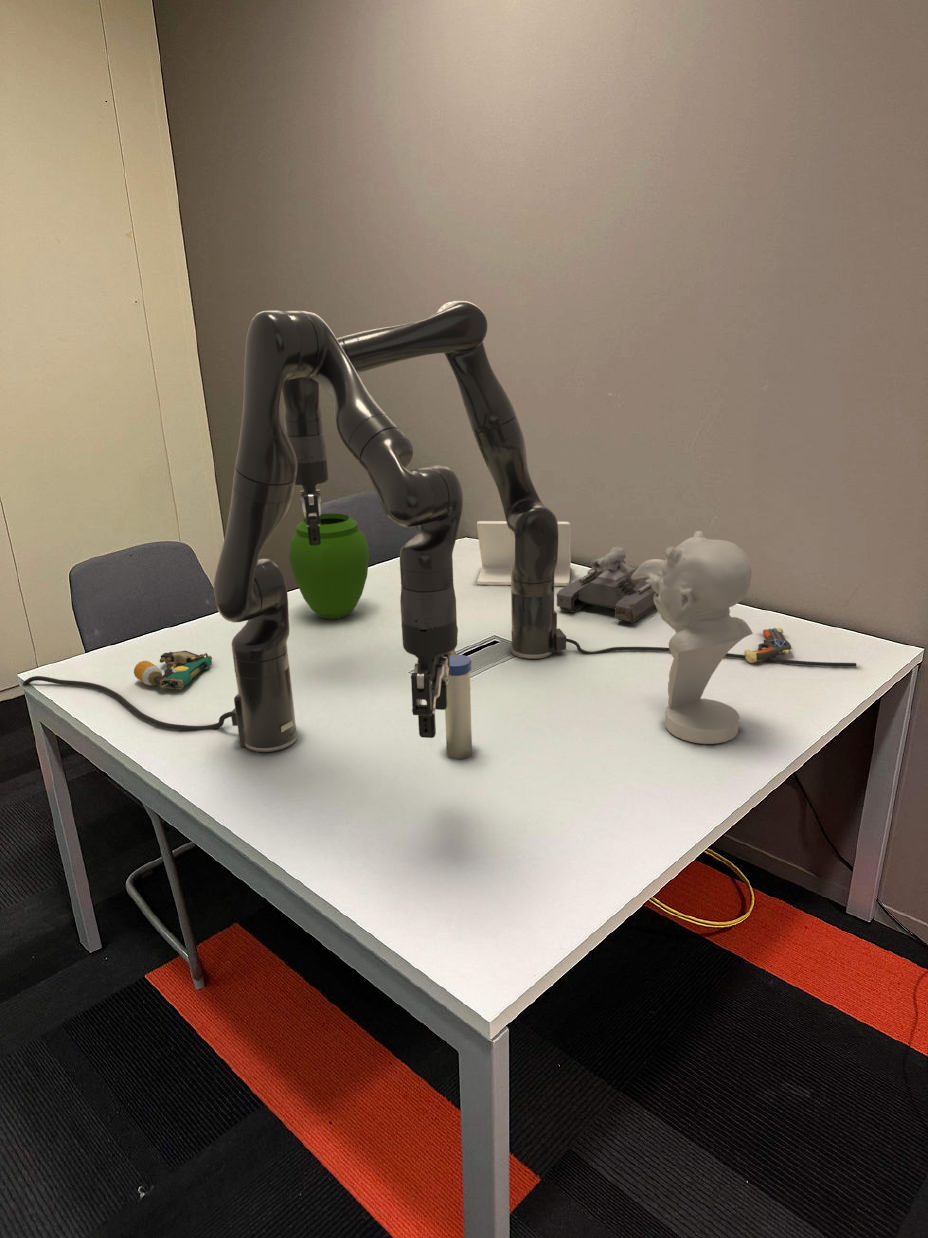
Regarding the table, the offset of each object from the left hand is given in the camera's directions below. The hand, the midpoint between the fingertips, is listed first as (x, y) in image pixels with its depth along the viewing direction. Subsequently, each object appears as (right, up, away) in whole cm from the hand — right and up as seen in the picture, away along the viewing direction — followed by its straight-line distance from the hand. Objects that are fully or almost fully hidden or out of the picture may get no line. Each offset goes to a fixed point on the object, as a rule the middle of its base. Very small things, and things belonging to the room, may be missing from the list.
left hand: (433, 722), depth 121 cm
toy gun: (+70, +8, +64) cm, 95 cm away
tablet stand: (+21, +27, +118) cm, 122 cm away
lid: (+3, +8, +20) cm, 21 cm away
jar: (+4, -8, +26) cm, 27 cm away
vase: (-28, +16, +92) cm, 98 cm away
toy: (+42, +18, +93) cm, 104 cm away
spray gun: (-56, +2, +59) cm, 82 cm away
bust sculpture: (+44, -4, +34) cm, 55 cm away
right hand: (-25, +31, +48) cm, 63 cm away
